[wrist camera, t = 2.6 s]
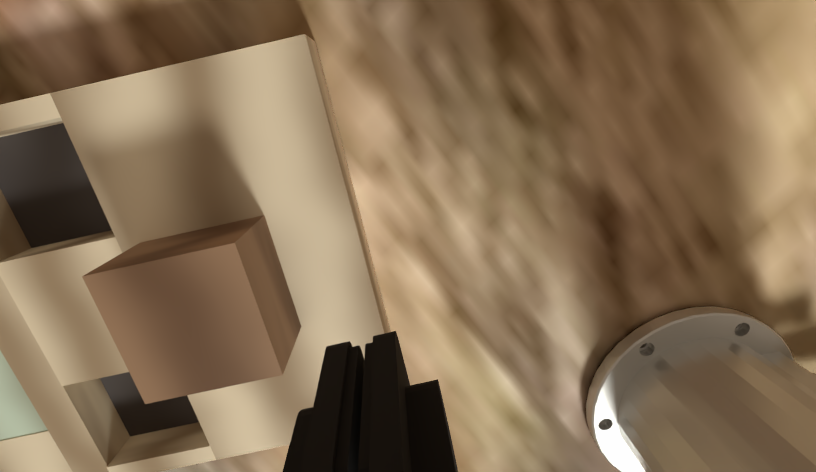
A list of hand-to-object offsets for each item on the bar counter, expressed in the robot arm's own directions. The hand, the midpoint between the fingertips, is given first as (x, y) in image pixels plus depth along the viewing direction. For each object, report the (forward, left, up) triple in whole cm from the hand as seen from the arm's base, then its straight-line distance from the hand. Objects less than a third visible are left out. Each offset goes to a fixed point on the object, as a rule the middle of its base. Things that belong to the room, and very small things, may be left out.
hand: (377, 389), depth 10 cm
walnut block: (+8, 0, -11) cm, 14 cm away
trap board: (+15, 0, -13) cm, 20 cm away
